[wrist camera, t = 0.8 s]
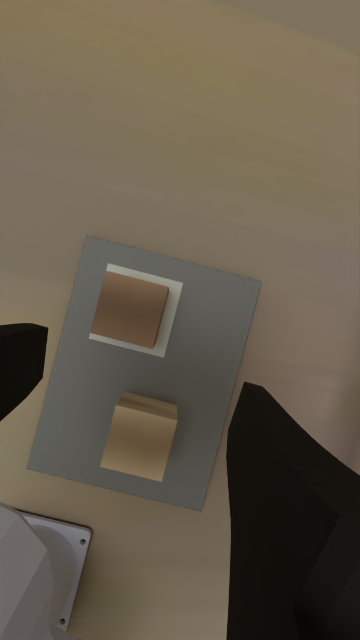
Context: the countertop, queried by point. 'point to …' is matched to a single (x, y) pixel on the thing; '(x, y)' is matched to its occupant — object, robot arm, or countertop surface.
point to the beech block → (140, 436)
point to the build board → (146, 373)
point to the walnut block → (129, 309)
